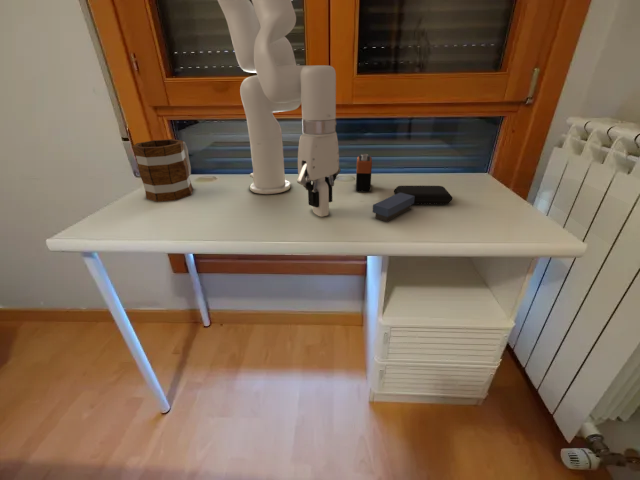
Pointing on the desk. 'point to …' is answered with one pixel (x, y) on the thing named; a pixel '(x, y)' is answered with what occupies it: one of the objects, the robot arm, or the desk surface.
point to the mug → (164, 169)
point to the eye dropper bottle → (322, 198)
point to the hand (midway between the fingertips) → (320, 202)
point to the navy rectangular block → (393, 206)
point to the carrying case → (426, 194)
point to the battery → (363, 173)
